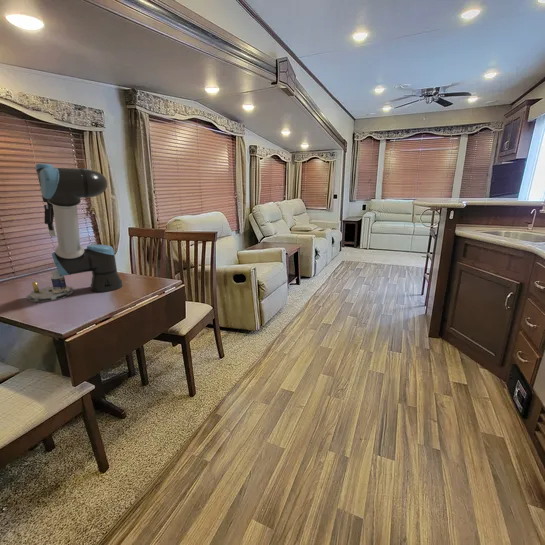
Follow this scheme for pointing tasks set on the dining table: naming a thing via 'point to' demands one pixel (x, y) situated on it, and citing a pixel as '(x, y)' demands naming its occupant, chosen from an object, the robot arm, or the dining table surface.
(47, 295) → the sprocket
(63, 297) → the base plate
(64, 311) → the dining table surface
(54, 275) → the pill bottle
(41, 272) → the dining table surface
